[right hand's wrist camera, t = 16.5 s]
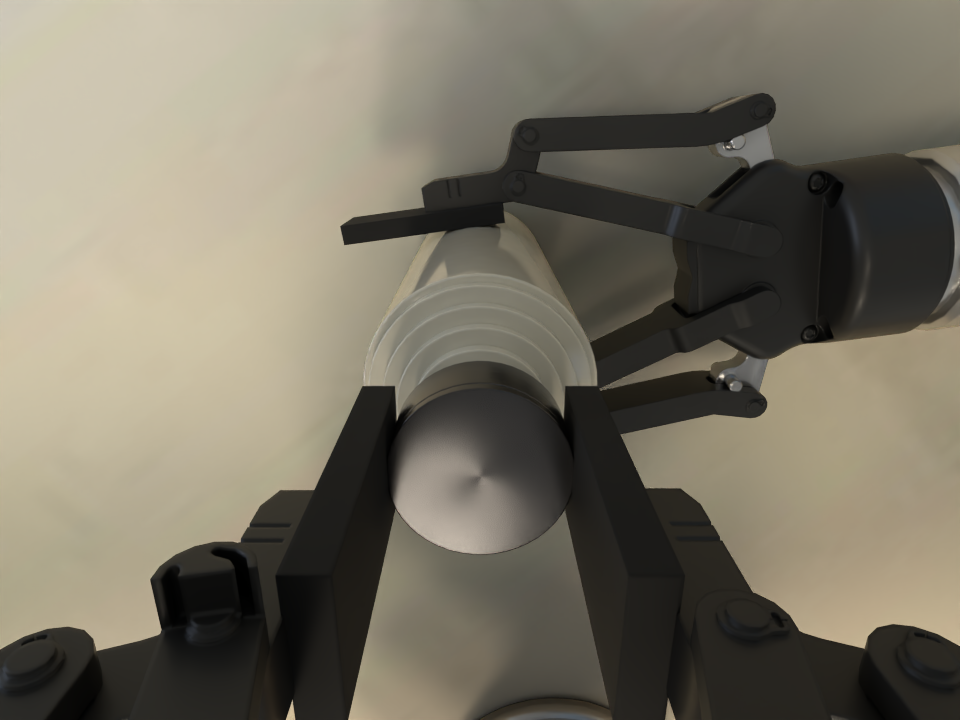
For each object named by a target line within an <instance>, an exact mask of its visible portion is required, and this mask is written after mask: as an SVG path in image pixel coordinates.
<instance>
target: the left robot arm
mask: <svg viewBox="0 0 960 720" xmlns="http://www.w3.org/2000/svg"><path fill="white" fill-rule="evenodd" d="M775 111H776V104H775V102H774V100H773V98H772V97H771V96H770V95H768V94H764V93H760V94H751V95H744V96H738V97H733V98H730V99H727V100H725V101H722V102H720V103H717V104H715V105H713V106H710V107H708V108H705V109H703V110H701V111H698V112H696V113H679V114H651V115H622V116H593V117H564V118H536V119H525V120H522V121H520V122H518V123H517V124H516V125H515V126H514V127H513V129H512V133H511V139H510V143H509V148H508V152H507V156H506V159H505V161H504V163H503V164H502V165H501V166H500V167H499V168H497V169H496V170H493V171H488V172H481V173H474V174H467V175H460V176H453V177H446V178H439V179H435V180H433V181H431V182H430V183H428V184H426V185H425V186H424V187H423V188H422V194H423V200H424V206H425V208H418V209H411V210H404V211H396V212H389V213H382V214H375V215H368V216H361V217H354V218H352V219H351V220H349V221H348V222H346V223H345V224H343V225H342V226H340V227H341V231H342V236H343V241H344V245H349V244H356V243H363V242H370V241H377V240H385V239H392V238H399V237H406V236H414V235H421V234H428V233H435V232H443V231H450V230H457V229H464V228H471V227H479V226H486V225H493V224H500V223H505V217H504V209H503V203H506V202H513V201H514V202H517V203H522V204H527V205H531V206H536V207H540V208H545V209H550V210H554V211H559V212H564V213H568V214H573V215H577V216H582V217H587V218H591V219H596V220H600V221H605V222H610V223H614V224H619V225H624V226H628V227H633V228H637V229H642V230H647V231H651V232H656V233H660V234H664V235H668V236H671V237H673V253H674V256H675V259H676V262H677V266H678V271H677V275H676V279H675V283H674V298H673V299H671V300H669V301H667V302H665V303H663V304H661V305H659V306H657V307H656V308H655V309H654V311H653V312H652V313H651V314H649V315H647V316H645V317H643V318H641V319H639V320H636V321H634V322H632V323H630V324H628V325H626V326H624V327H622V328H620V329H618V330H615V331H613V332H611V333H609V334H607V335H605V336H603V337H601V338H599V339H597V340H595V341H592V342H590V345H591V348H592V351H593V354H594V357H595V363H596V368H597V386H598V388H601V387H603V386H605V385H608V384H610V383H612V382H614V381H616V380H618V379H621V378H623V377H625V376H627V375H629V374H631V373H634V372H636V371H638V370H640V369H642V368H644V367H646V366H649V365H651V364H653V363H655V362H657V361H659V360H662V359H664V358H666V357H668V356H670V355H672V354H675V353H679V352H682V353H686V352H690V351H693V350H695V349H698V348H700V347H702V346H704V345H706V344H708V343H711V342H713V341H715V340H717V339H719V340H721V341H723V342H725V343H726V344H728V345H730V346H732V347H734V348H736V349H737V350H739V351H738V353H737V354H736V356H735V357H734V358H732V359H730V360H728V361H722V362H715V363H713V364H712V366H711V370H710V371H690V372H684V373H679V374H675V375H670V376H666V377H661V378H657V379H652V380H648V381H643V382H639V383H634V384H630V385H625V386H620V387H616V388H611V389H607V390H602V391H600V392H601V394H602V396H603V399H604V401H605V403H606V405H607V407H608V409H609V411H610V414H611V416H612V418H613V420H614V422H615V424H616V427H617V429H618V431H619V433H620V434H624V433H629V432H633V431H638V430H643V429H647V428H652V427H657V426H661V425H666V424H671V423H675V422H680V421H685V420H689V419H694V418H699V417H703V416H708V415H713V414H716V415H726V416H736V417H745V418H756V417H758V416H760V415H761V414H763V413H764V412H765V410H766V408H767V401H766V398H765V397H764V396H763V395H762V394H761V393H760V392H759V389H760V386H761V383H762V379H763V376H764V372H765V369H766V365H767V362H768V359H771V358H775V357H777V356H779V355H781V354H782V353H784V352H785V351H787V350H789V349H790V348H793V347H795V346H798V345H801V344H807V343H827V342H836V341H844V340H852V339H860V338H868V337H876V336H883V335H891V334H899V333H905V332H908V331H910V330H913V329H919V330H934V329H941V328H949V327H956V326H960V145H952V146H945V147H937V148H930V149H922V150H915V151H912V152H909V153H907V154H905V155H903V154H896V153H891V154H882V155H875V156H868V157H861V158H854V159H847V160H839V161H832V162H825V163H818V164H811V165H804V166H795V165H792V164H789V163H787V162H785V161H783V160H778V159H775V158H774V154H773V149H772V145H771V140H770V136H769V131H768V127H767V124H768V123H769V122H770V121H771V120H772V118H773V117H774V114H775ZM697 146H708V148H709V150H710V152H711V153H712V154H713V155H715V156H718V157H725V158H731V157H734V158H736V159H737V160H738V161H739V162H740V165H741V167H740V168H739V169H738V170H737V171H736V172H735V173H734V174H732V175H731V176H730V177H729V178H728V179H727V180H726V181H724V182H723V183H722V184H721V185H720V186H719V187H718V188H717V189H715V190H714V191H713V192H712V193H711V194H710V195H709V196H707V197H706V198H705V199H704V200H703V201H702V202H701V203H699V204H698V205H697V206H692V205H688V204H683V203H679V202H674V201H669V200H665V199H660V198H654V197H649V196H645V195H640V194H636V193H631V192H627V191H622V190H618V189H613V188H609V187H604V186H599V185H595V184H590V183H586V182H581V181H577V180H572V179H568V178H563V177H559V176H554V175H550V174H545V173H541V172H536V170H537V166H538V161H539V157H540V153H541V152H553V151H582V150H611V149H641V148H670V147H697ZM480 720H612V716H611V712H610V710H609V709H607V708H604V707H602V706H599V705H596V704H593V703H589V702H585V701H580V700H574V699H563V698H546V699H535V700H528V701H524V702H519V703H515V704H512V705H509V706H506V707H503V708H501V709H498V710H496V711H494V712H492V713H490V714H488V715H487V716H485V717H483V718H481V719H480Z"/></svg>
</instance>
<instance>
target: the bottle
mask: <svg viewBox="0 0 960 720" xmlns="http://www.w3.org/2000/svg"><path fill="white" fill-rule="evenodd" d="M504 217H505V223H500V224H493V225H486V226H479V227H471V228H464V229H457V230H450V231H443V232H435V233H428V234H427V236H426V237H425V239H424V241H423V243H422V245H421V247H420V248H419V250H418V252H417V254H416V256H415V258H414V260H413V262H412V264H411V266H410V268H409V270H408V271H407V273H406V275H405V277H404V279H403V281H402V283H401V285H400V287H399V289H398V291H397V292H396V294H395V296H394V298H393V300H392V302H391V304H390V306H389V308H388V310H387V312H386V314H385V315H384V317H383V319H382V321H381V323H380V325H379V327H378V329H377V331H376V333H375V335H374V337H373V339H372V342H371V344H370V346H369V349H368V352H367V356H366V360H365V365H364V374H363V386H395V394H396V413H397V419H398V415H399V412H400V410H401V408H402V406H403V404H404V402H405V401H406V399H407V397H408V396H409V394H410V393H411V392H412V391H413V390H414V389H415V387H416V386H417V385H419V384H420V383H421V382H422V381H423V380H424V379H426V378H427V377H429V376H430V375H432V374H433V373H435V372H437V371H439V370H441V369H443V368H445V367H448V366H451V365H454V364H458V363H463V362H470V361H492V362H498V363H503V364H506V365H510V366H513V367H515V368H517V369H520V370H522V371H524V372H526V373H527V374H529V375H531V376H532V377H534V378H535V379H536V380H537V381H539V382H540V383H541V384H542V385H543V386H544V387H545V388H546V389H547V390H548V391H549V392H550V394H551V395H552V396H553V398H554V399H555V401H556V403H557V405H558V406H559V408H560V411H561V414H562V416H563V419H564V401H565V386H597V368H596V363H595V357H594V354H593V351H592V348H591V345H590V342H589V340H588V338H587V336H586V334H585V332H584V330H583V328H582V326H581V324H580V322H579V320H578V319H577V317H576V315H575V313H574V311H573V309H572V307H571V305H570V303H569V301H568V299H567V298H566V296H565V294H564V292H563V290H562V288H561V286H560V284H559V282H558V280H557V279H556V277H555V275H554V273H553V271H552V269H551V267H550V265H549V263H548V261H547V260H546V258H545V256H544V254H543V252H542V250H541V248H540V246H539V244H538V242H537V240H536V239H535V237H534V235H533V234H532V232H531V231H530V230H529V229H528V227H527V226H526V225H525V224H524V223H523V222H521V221H520V220H519V219H518V218H516V217H515V216H513V215H512V214H510V213H508V212H506V211H504Z"/></svg>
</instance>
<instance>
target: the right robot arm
mask: <svg viewBox="0 0 960 720" xmlns="http://www.w3.org/2000/svg"><path fill="white" fill-rule="evenodd" d="M396 422H397V413H396V394H395V386H362V389H361V391H360V393H359V395H358V397H357V399H356V402H355V404H354V406H353V408H352V410H351V412H350V414H349V417H348V419H347V421H346V423H345V425H344V427H343V430H342V432H341V434H340V436H339V438H338V440H337V443H336V445H335V447H334V449H333V451H332V453H331V456H330V458H329V460H328V462H327V464H326V466H325V469H324V471H323V473H322V475H321V477H320V479H319V482H318V484H317V486H316V488H315V490H280V491H279V492H278V493H276V494H275V495H274V496H272V497H271V498H270V499H269V500H267V501H266V502H265V503H263V504H262V505H261V506H260V507H259V509H258V511H257V512H256V514H255V516H254V518H253V519H252V521H251V523H250V527H248V528H247V529H246V531H245V533H244V535H243V536H242V538H241V543H235V542H212V543H208V544H203V545H199V546H194V547H192V548H190V549H188V550H185V551H183V552H181V553H179V554H176V555H175V556H173V557H172V558H171V559H169V560H168V561H167V562H165V563H164V564H162V565H161V566H160V567H159V568H158V570H157V571H156V572H155V574H154V575H153V577H152V578H151V579H150V581H151V585H152V590H153V594H154V598H155V603H156V607H157V612H158V616H159V620H160V625H161V629H162V631H161V633H160V634H159V635H157V636H154V637H151V638H148V639H145V640H141V641H138V642H133V643H129V644H125V645H121V646H117V647H112V648H108V649H104V650H100V651H96V647H95V644H94V640H93V638H92V637H91V636H90V635H89V634H88V633H87V632H86V631H85V630H81V629H76V628H72V627H62V628H52V629H46V630H43V631H40V632H37V633H34V634H31V635H28V636H25V637H23V638H21V639H19V640H17V641H15V642H13V643H12V644H10V645H8V646H6V647H4V648H2V649H1V650H0V720H286V717H287V714H288V711H289V708H290V705H291V702H292V699H293V705H294V712H295V720H348V718H349V713H350V709H351V705H352V700H353V696H354V691H355V687H356V682H357V678H358V673H359V669H360V664H361V660H362V656H363V651H364V647H365V642H366V638H367V633H368V629H369V624H370V620H371V615H372V611H373V606H374V602H375V598H376V593H377V589H378V584H379V580H380V575H381V571H382V566H383V562H384V557H385V553H386V549H387V544H388V540H389V535H390V531H391V526H392V522H393V517H394V513H395V507H394V505H393V503H392V500H391V498H390V495H389V492H388V477H387V454H388V450H389V447H390V443H391V440H392V436H393V433H394V429H395V426H396ZM564 423H565V426H566V430H567V433H568V436H569V440H570V443H571V447H572V450H573V454H574V467H573V484H572V495H571V497H570V500H569V502H568V505H567V506H566V508H565V511H566V516H567V520H568V525H569V529H570V534H571V538H572V542H573V547H574V551H575V556H576V560H577V565H578V569H579V574H580V578H581V583H582V587H583V591H584V596H585V600H586V605H587V609H588V614H589V618H590V623H591V627H592V632H593V636H594V640H595V645H596V649H597V654H598V658H599V663H600V667H601V672H602V676H603V681H604V685H605V689H606V694H607V698H608V703H609V707H610V712H611V716H612V720H665V715H666V708H667V701H668V698H669V701H670V704H671V707H672V710H673V713H674V716H675V719H676V720H960V646H958V645H956V644H955V643H953V642H951V641H949V640H947V639H945V638H943V637H942V636H940V635H938V634H935V633H932V632H929V631H926V630H923V629H920V628H917V627H914V626H904V625H895V624H892V625H887V626H882V627H878V628H876V629H875V630H874V631H873V632H872V633H871V634H870V635H869V636H868V639H867V642H866V646H865V649H863V648H859V647H855V646H850V645H846V644H842V643H838V642H833V641H829V640H825V639H821V638H818V637H814V636H811V635H808V634H805V633H802V632H800V631H799V630H798V628H797V626H796V625H795V623H794V622H793V620H792V618H791V617H790V615H789V614H787V613H786V612H785V611H784V610H783V609H781V608H780V607H779V606H778V605H777V604H775V603H774V602H772V601H770V600H768V599H766V598H764V597H762V596H760V595H758V594H756V593H753V592H752V590H751V589H750V587H749V585H748V584H747V582H746V580H745V579H744V577H743V575H742V573H741V572H740V570H739V568H738V567H737V565H736V563H735V562H734V560H733V558H732V557H731V555H730V553H729V551H728V550H727V548H726V546H725V545H724V543H723V541H720V536H719V535H718V533H717V531H716V530H715V528H714V526H713V525H711V521H710V519H709V518H708V516H707V514H706V513H705V511H704V509H703V508H702V506H701V504H700V503H698V502H697V501H696V500H695V499H693V498H692V497H691V496H689V495H688V494H687V493H685V492H684V491H683V490H682V489H666V488H645V487H644V485H643V483H642V481H641V478H640V476H639V474H638V472H637V470H636V468H635V465H634V463H633V461H632V459H631V457H630V455H629V453H628V450H627V448H626V446H625V444H624V442H623V440H622V437H621V435H620V433H619V431H618V429H617V427H616V424H615V422H614V420H613V418H612V416H611V414H610V411H609V409H608V407H607V405H606V403H605V401H604V399H603V396H602V394H601V392H600V390H599V388H598V386H565V401H564Z"/></svg>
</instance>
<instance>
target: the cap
mask: <svg viewBox="0 0 960 720" xmlns="http://www.w3.org/2000/svg"><path fill="white" fill-rule="evenodd" d="M573 467H574V454H573V450H572V447H571V443H570V440H569V436H568V433H567V430H566V426H565V423H564V419H563V416H562V414H561V411H560V408H559V406H558V405H557V403H556V401H555V399H554V398H553V396H552V395H551V394H550V392H549V391H548V390H547V389H546V388H545V387H544V386H543V385H542V384H541V383H540V382H539V381H537V380H536V379H535V378H534V377H532V376H531V375H529V374H527V373H526V372H524V371H522V370H520V369H517V368H515V367H513V366H510V365H506V364H503V363H498V362H492V361H470V362H463V363H458V364H454V365H451V366H448V367H445V368H443V369H441V370H439V371H437V372H435V373H433V374H432V375H430V376H429V377H427V378H426V379H424V380H423V381H422V382H421V383H420V384H419V385H417V386H416V387H415V389H414V390H413V391H412V392H411V393H410V394H409V396H408V397H407V399H406V401H405V402H404V404H403V406H402V408H401V410H400V412H399V415H398V419H397V422H396V426H395V429H394V433H393V436H392V440H391V443H390V447H389V450H388V454H387V477H388V492H389V495H390V498H391V500H392V503H393V505H394V507H395V509H396V510H397V512H398V513H399V515H400V516H401V518H402V519H403V520H404V521H405V522H406V523H407V525H408V526H409V527H410V528H412V529H413V530H414V531H415V532H416V533H417V534H419V535H420V536H422V537H423V538H424V539H426V540H428V541H429V542H431V543H433V544H435V545H437V546H440V547H442V548H445V549H448V550H451V551H455V552H459V553H466V554H481V555H484V554H495V553H501V552H506V551H509V550H513V549H516V548H519V547H521V546H523V545H525V544H528V543H529V542H531V541H533V540H535V539H536V538H538V537H539V536H541V535H542V534H543V533H545V532H546V531H547V530H548V529H549V528H550V527H551V526H552V525H553V524H554V523H555V522H556V521H557V520H558V518H559V517H560V516H561V515H562V513H563V511H564V510H565V508H566V506H567V505H568V502H569V500H570V497H571V495H572V484H573Z"/></svg>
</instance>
